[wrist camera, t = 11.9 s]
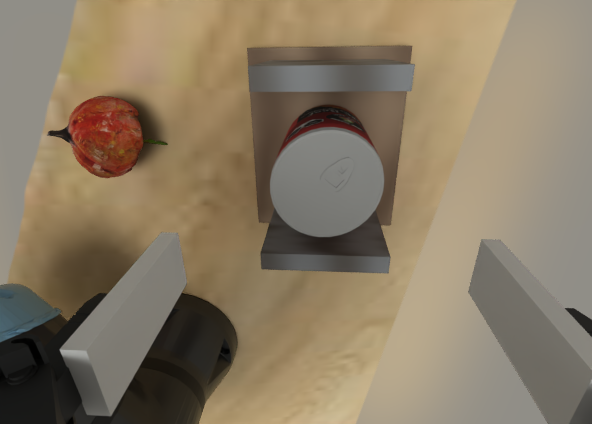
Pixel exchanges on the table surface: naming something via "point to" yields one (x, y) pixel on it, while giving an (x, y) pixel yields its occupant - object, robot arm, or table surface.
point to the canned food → (326, 173)
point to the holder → (340, 92)
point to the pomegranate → (105, 136)
